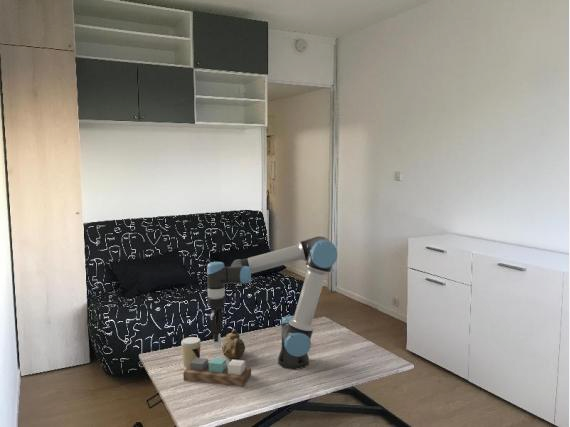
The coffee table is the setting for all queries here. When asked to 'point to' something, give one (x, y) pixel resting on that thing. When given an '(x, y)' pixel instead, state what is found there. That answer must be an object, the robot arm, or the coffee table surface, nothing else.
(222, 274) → the robot arm
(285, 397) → the coffee table surface
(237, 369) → the white key
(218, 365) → the teal key
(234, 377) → the frame
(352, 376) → the coffee table surface
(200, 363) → the charcoal key
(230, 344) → the carved stone sculpture
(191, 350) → the coffee cup
